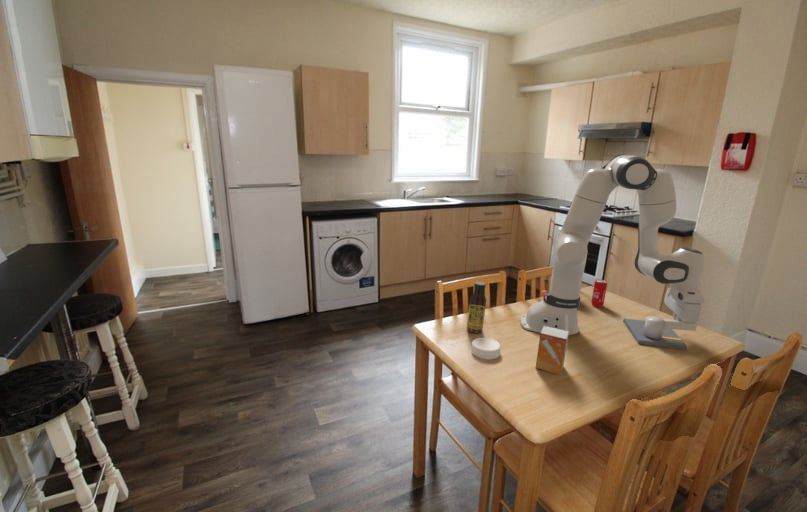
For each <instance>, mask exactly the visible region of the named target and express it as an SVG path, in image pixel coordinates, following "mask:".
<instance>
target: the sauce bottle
mask: <svg viewBox="0 0 807 512" xmlns="http://www.w3.org/2000/svg"><path fill="white" fill-rule="evenodd" d="M473 286H474V291H473V294H472V296H470V298H469V299H470V301H469V306H468V313H467V322H466V329H467V331H468V332H469V333H473V334H478V333H479V334H480V333H481V332H482V331H483V328H484V320H485V314H486V305H487V304H486V303H487V298H486V297H485V288H486V283H485V282H483V281H475V282H474V285H473Z"/></svg>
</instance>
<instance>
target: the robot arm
mask: <svg viewBox="0 0 807 512" xmlns="http://www.w3.org/2000/svg"><path fill="white" fill-rule="evenodd" d="M618 187H622V188H625V189H628V190H635V191H636V192H637V195H638V208H639V211H638V212H639V218H638V224H637V225H638V227H637V228H638V231H637V233H638V235H637V236H638V238H637V240H638V241H637V243H638V244H637V245H638V247H637V253H636V256H635V259H634V267H635V270H636V271H637V272H638V273H640V274H642V275H643V276H646V277H648V278H650V279H652V280H653V281H655V282H657V283H660V284H662V285H669V287H668V288H666V289H667V290H666V292H665V296H664V300H663V302H664V304H665V305H666V306H667V308H669V309H670V310H671V311H672V312H673V313H672V316H673V320H682V321H684V322H685V323H688V324H696V323H697V324H698V322H699V319H700V316H701V310H702V304H704V303H705V297H704V296H703V295H702V293H701V289H700V287H701V277H702V276H703V273H704V269H705V254H704V253H703V252H702V251H699V250H697V249H694V248H692V247H691V248H690V247H680V248H678V250H676V251H674V252H672V253H669V254H665V255H664V254H662V252H660V250H659V248H658V232H659V228H660V227H661V226H663V225H666V224H668V223H669V222H670V221H672V220H673V219H674V217H675V216H676V213H677V194H676V193H677V192H676V188H675V184H674V181H673V177H672V174H671V173H670V172H669V171H668V170H665V169H664V168H662V169H661V168H654V167H653V166H652V164H651V163H650V162H649V161H648V160H647V159H645V158H643V157H640V156H638V155H635V154H627V153H626V154H625V153H624V154H619V155H616V156H614V157H613V158H611V159H610V160H609V161H608V162H607V163H606V164H605V165H603V166H602V167H601V168H599V167H595V168H590V169H589V170H587V171H586V172H585V174H584V175H583V178H582V179H581V180H580V183H579V185H578V186H577V189H576V191H575V194H574V196H573V199H572V201H571V204H570V207H569V209H568V211H567V214H566V217H565V219H564V222H563V223H562V224H563V225H562V227H561V229H560V232H559V234H558V237H557V239H556V241H555V249H554V254H553V255H554V257H553V265H552V272H551V273H552V274H551V280H550V286H549V287H550V288H549V291H547V290H546V289H544V290H542V291H541V294H542V296H543V299H542V300H540V301H538V302H536V303H533V304H532V305H530V306H529V308H528V310H527V312H526V313H525V314H522V315H521V317H520V320H519V323H520V326H521V327H522V329H524V330H526V331H530V332H534V333H540V334H541V331H542V329H543V326H546V327H551V328H556V329H560V330H564V331H569V335H568V336H572V335H573V336H574V335H576V334H578V333H579V331H580V330H579V329H580V328H579V323H578V322H579V321H578V318H579V316H578V313H579V309H580V307H581V297H580V295H581V289H582V282H583V276H584V273H585V268H586V263H587V257H588V252H589V251H588V245H589V242H590V240H591V238H592V235H593V233H594V232H595V229H596V228H597V226H598V224H599V222H600V219H601V217H602V214H603V212H604V209H605V207H606V205H607V202H608V200H609V198H610V197H609V196H610V195H611V194H612V192H613V191H614V190H615V189H616V188H618Z"/></svg>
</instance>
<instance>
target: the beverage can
mask: <svg viewBox="0 0 807 512" xmlns="http://www.w3.org/2000/svg"><path fill="white" fill-rule="evenodd" d="M607 287H608V282H607V281H606V280H605V279H595V280H594V285H593V290H592V295H591V306H593V307H597V308H602V307H603V305H605V304H604V303H605V298H606V292H607Z"/></svg>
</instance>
